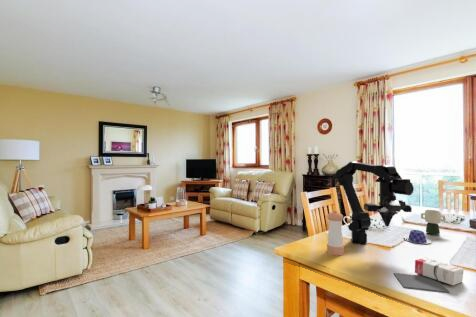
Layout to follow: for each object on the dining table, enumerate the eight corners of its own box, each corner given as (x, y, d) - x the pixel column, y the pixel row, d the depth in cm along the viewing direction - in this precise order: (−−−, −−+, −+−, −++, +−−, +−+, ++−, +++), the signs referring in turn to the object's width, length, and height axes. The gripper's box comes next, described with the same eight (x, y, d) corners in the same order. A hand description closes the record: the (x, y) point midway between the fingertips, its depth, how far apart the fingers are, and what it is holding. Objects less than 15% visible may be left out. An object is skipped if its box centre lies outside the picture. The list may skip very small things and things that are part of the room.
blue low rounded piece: (401, 236, 142) (401, 227, 142) (428, 239, 137) (428, 229, 137) (405, 243, 131) (405, 232, 131) (434, 246, 126) (434, 235, 126)
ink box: (414, 273, 95) (453, 286, 85) (414, 259, 95) (454, 271, 85) (424, 269, 100) (463, 282, 90) (425, 256, 100) (464, 267, 90)
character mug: (445, 234, 144) (445, 211, 144) (444, 237, 138) (444, 213, 138) (421, 230, 151) (421, 208, 151) (420, 233, 146) (420, 210, 145)
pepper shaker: (331, 248, 123) (331, 208, 123) (346, 252, 118) (346, 210, 118) (324, 252, 118) (323, 211, 118) (339, 256, 113) (339, 213, 113)
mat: (403, 287, 86) (403, 286, 86) (393, 273, 96) (393, 272, 96) (449, 292, 83) (449, 291, 83) (434, 277, 93) (434, 276, 93)
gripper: (373, 194, 110) (373, 230, 110) (419, 195, 109) (419, 231, 109) (363, 191, 121) (363, 224, 122) (404, 191, 120) (404, 224, 120)
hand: (386, 226), depth 118 cm, fingers closed
